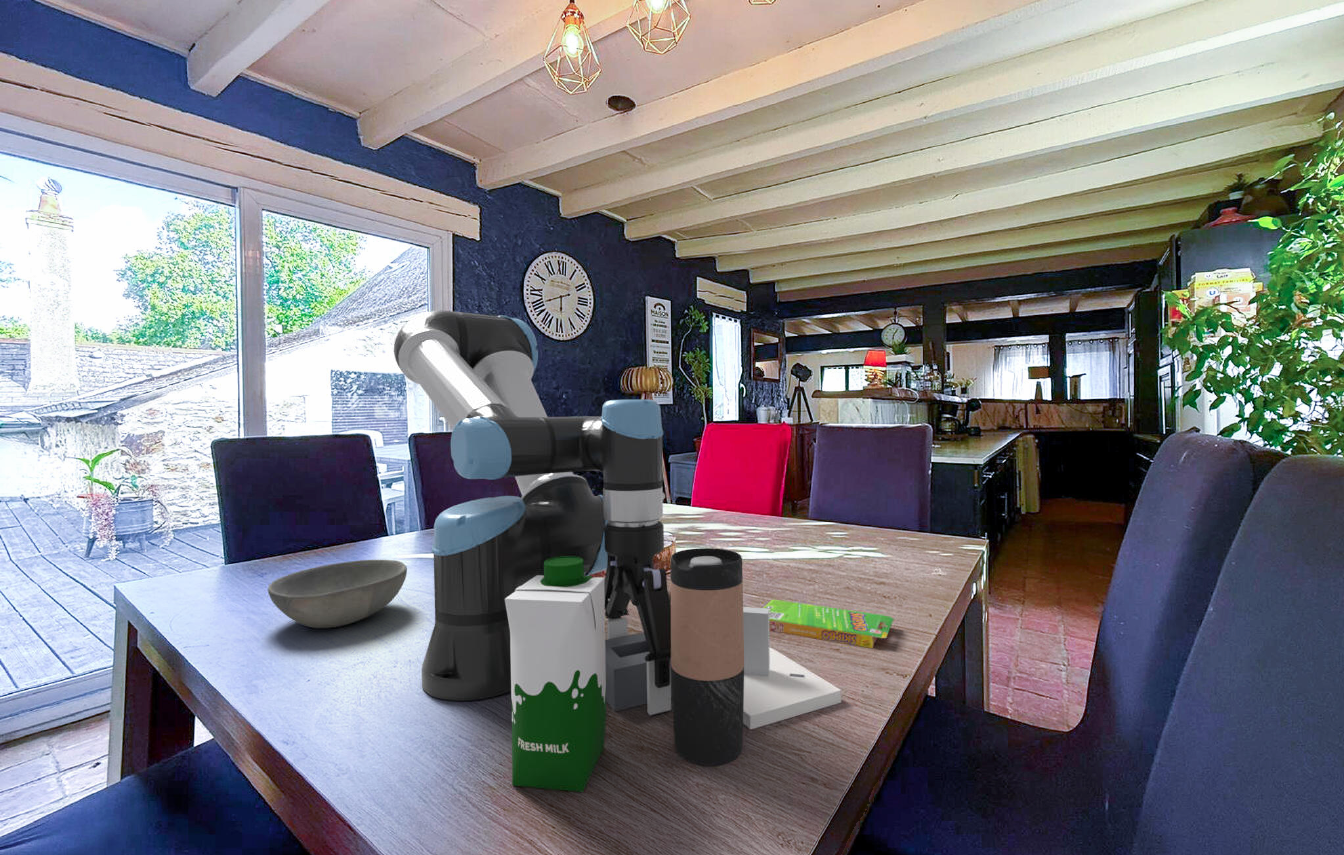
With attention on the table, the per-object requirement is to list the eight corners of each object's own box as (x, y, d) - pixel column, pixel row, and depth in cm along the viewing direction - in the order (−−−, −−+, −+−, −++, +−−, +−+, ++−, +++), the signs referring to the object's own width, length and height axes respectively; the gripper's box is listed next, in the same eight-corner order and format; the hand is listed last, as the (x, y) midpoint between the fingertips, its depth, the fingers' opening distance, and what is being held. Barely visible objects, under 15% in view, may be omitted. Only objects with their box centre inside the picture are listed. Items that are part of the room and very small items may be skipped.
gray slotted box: (614, 711, 67) (613, 666, 67) (590, 680, 75) (590, 640, 75) (682, 694, 71) (682, 652, 71) (653, 666, 79) (652, 628, 79)
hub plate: (750, 729, 63) (749, 643, 63) (677, 666, 79) (676, 598, 79) (841, 702, 69) (840, 623, 69) (755, 648, 85) (755, 584, 85)
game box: (772, 615, 102) (895, 629, 92) (753, 635, 93) (886, 652, 84) (771, 598, 102) (894, 610, 92) (752, 616, 93) (885, 631, 84)
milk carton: (614, 744, 61) (611, 556, 60) (588, 801, 52) (585, 581, 51) (535, 738, 62) (532, 554, 62) (497, 792, 53) (493, 577, 53)
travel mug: (739, 724, 64) (737, 547, 64) (750, 766, 56) (748, 564, 56) (670, 727, 64) (668, 548, 63) (673, 769, 56) (670, 566, 56)
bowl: (403, 631, 94) (402, 582, 94) (250, 652, 86) (249, 599, 86) (410, 594, 114) (409, 554, 113) (286, 608, 106) (285, 565, 106)
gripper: (708, 535, 63) (711, 725, 63) (625, 506, 86) (628, 647, 86) (645, 542, 60) (649, 743, 60) (576, 510, 82) (579, 656, 83)
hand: (636, 687), depth 73 cm, fingers open, 13 cm apart
